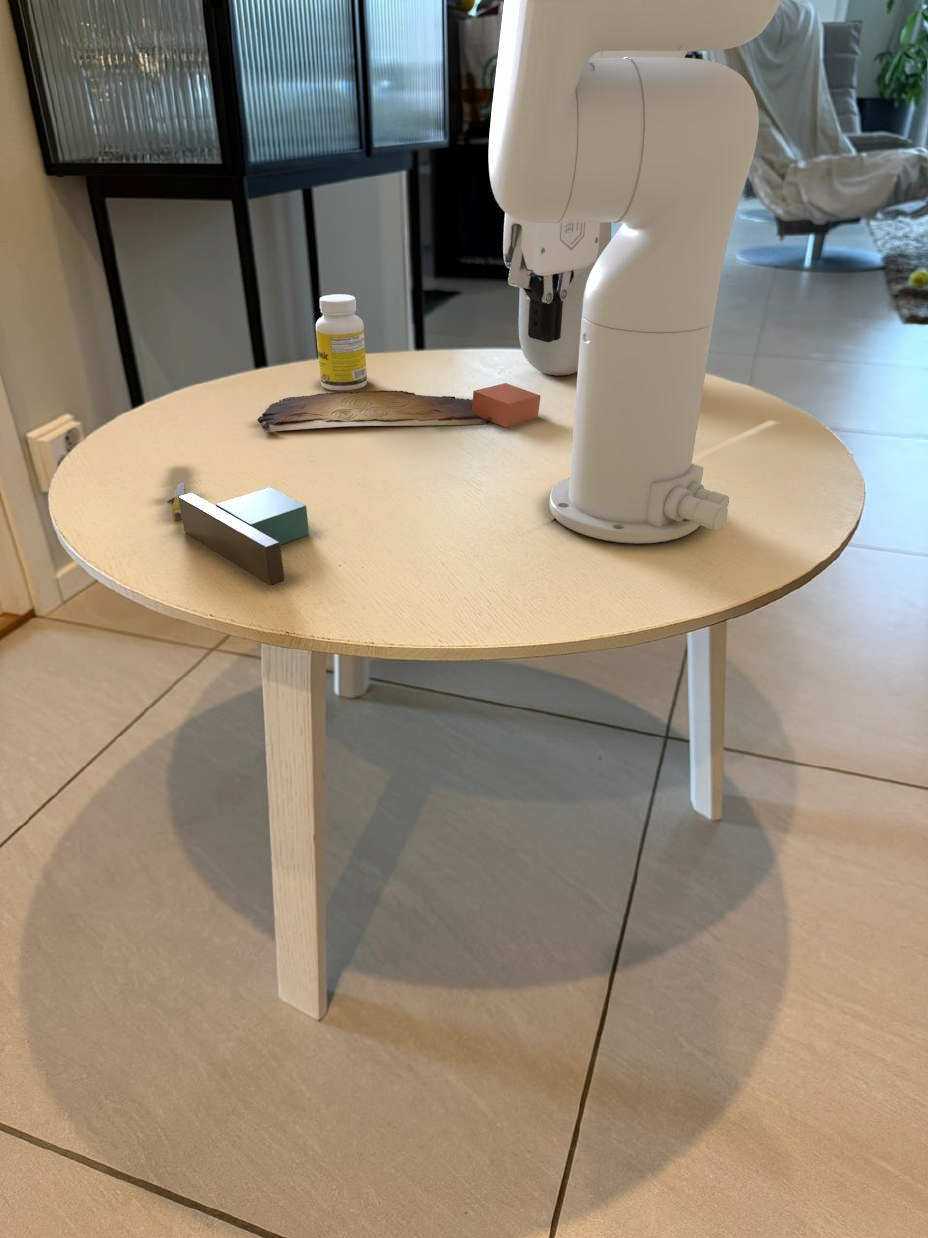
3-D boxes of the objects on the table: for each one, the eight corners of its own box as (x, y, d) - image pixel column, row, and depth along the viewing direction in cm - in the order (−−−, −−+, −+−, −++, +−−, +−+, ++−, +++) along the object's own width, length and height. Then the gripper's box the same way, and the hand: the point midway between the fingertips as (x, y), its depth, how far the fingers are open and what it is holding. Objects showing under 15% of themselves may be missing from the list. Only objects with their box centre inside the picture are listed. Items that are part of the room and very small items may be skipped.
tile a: (309, 534, 68) (306, 505, 67) (254, 554, 65) (250, 524, 64) (274, 514, 71) (270, 486, 70) (219, 533, 68) (215, 503, 67)
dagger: (167, 473, 79) (189, 466, 79) (171, 482, 80) (193, 475, 80) (163, 515, 70) (188, 507, 70) (167, 525, 70) (192, 517, 71)
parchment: (256, 433, 87) (256, 424, 87) (262, 400, 95) (261, 392, 95) (501, 427, 90) (501, 419, 90) (486, 395, 98) (486, 388, 98)
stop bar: (284, 579, 62) (280, 542, 61) (270, 585, 61) (265, 547, 60) (197, 527, 69) (191, 492, 68) (183, 531, 69) (177, 496, 67)
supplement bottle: (319, 379, 104) (312, 293, 98) (365, 377, 104) (360, 291, 99) (321, 393, 99) (314, 303, 94) (369, 390, 100) (364, 301, 95)
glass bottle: (515, 361, 111) (524, 105, 96) (596, 362, 111) (617, 106, 96) (516, 383, 103) (526, 108, 88) (603, 385, 102) (628, 108, 88)
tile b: (538, 418, 92) (540, 395, 91) (505, 427, 89) (508, 403, 88) (503, 405, 95) (505, 382, 94) (471, 413, 92) (473, 390, 91)
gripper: (532, 149, 76) (523, 360, 86) (634, 140, 85) (615, 332, 95) (471, 143, 80) (469, 344, 90) (574, 135, 89) (562, 319, 99)
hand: (543, 338), depth 93 cm, fingers closed
